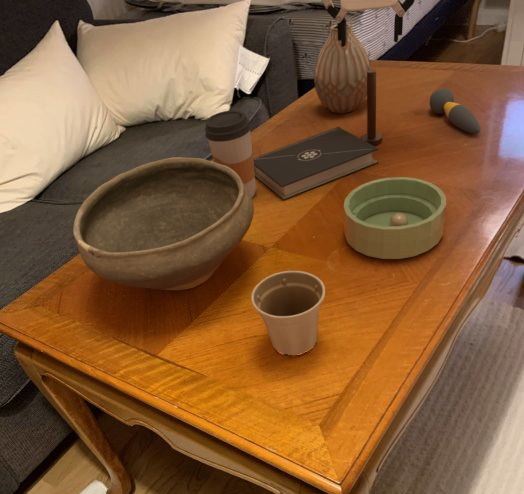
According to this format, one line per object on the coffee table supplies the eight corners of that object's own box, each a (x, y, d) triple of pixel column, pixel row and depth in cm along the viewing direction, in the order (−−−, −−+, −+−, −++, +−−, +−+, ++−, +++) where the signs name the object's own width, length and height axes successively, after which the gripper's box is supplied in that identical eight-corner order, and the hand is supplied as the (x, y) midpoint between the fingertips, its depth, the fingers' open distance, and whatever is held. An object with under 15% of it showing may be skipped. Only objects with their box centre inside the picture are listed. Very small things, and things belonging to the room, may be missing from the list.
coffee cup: (269, 193, 102) (257, 115, 91) (234, 210, 99) (218, 133, 88) (246, 180, 107) (232, 105, 96) (212, 196, 104) (194, 121, 94)
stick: (382, 136, 112) (383, 66, 102) (381, 145, 109) (382, 74, 99) (362, 137, 113) (361, 67, 103) (360, 146, 110) (359, 76, 100)
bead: (394, 207, 84) (386, 222, 86) (393, 217, 82) (385, 232, 84) (411, 213, 84) (403, 228, 86) (411, 223, 82) (402, 238, 84)
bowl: (169, 216, 101) (147, 146, 91) (293, 241, 89) (283, 163, 79) (67, 304, 86) (27, 231, 76) (200, 349, 73) (173, 269, 63)
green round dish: (441, 207, 89) (445, 175, 85) (443, 262, 79) (447, 228, 74) (350, 209, 93) (349, 178, 89) (340, 261, 83) (338, 229, 78)
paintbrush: (494, 132, 105) (498, 107, 102) (472, 139, 104) (476, 114, 101) (438, 103, 119) (440, 80, 115) (419, 109, 118) (420, 86, 115)
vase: (307, 117, 125) (299, 35, 112) (331, 95, 132) (327, 16, 120) (357, 121, 119) (355, 35, 106) (380, 98, 126) (380, 16, 114)
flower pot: (289, 309, 76) (282, 262, 70) (342, 333, 71) (340, 284, 65) (247, 348, 72) (236, 300, 66) (300, 376, 67) (293, 327, 61)
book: (338, 139, 114) (337, 126, 111) (378, 162, 104) (378, 148, 101) (250, 172, 109) (248, 159, 107) (283, 200, 99) (281, 186, 97)
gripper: (315, -62, 85) (321, 52, 97) (425, -78, 81) (417, 44, 93) (321, -70, 90) (326, 40, 102) (425, -85, 86) (417, 31, 98)
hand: (369, 42), depth 97 cm, fingers open, 9 cm apart
